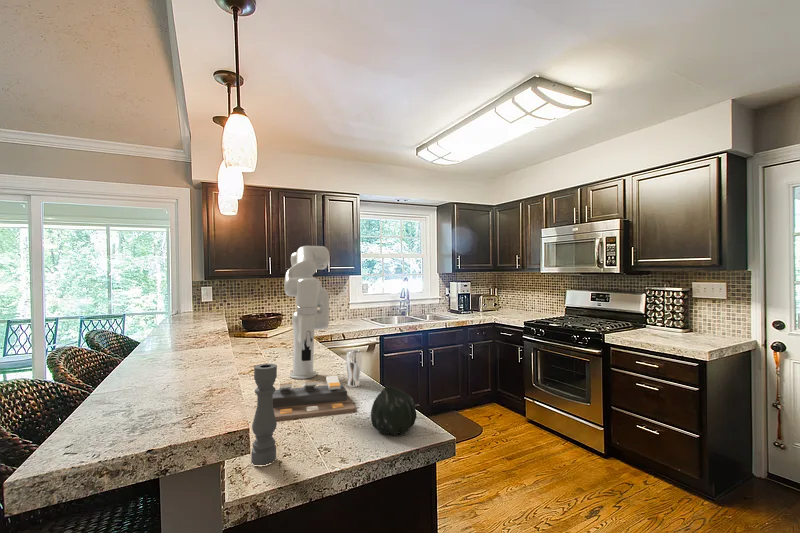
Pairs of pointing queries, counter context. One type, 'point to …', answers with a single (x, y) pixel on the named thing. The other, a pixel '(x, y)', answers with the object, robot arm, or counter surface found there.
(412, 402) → the squash
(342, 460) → the counter surface
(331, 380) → the block
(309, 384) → the block
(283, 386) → the plate
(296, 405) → the switch unit
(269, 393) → the candle holder
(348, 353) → the beige tall curved piece
